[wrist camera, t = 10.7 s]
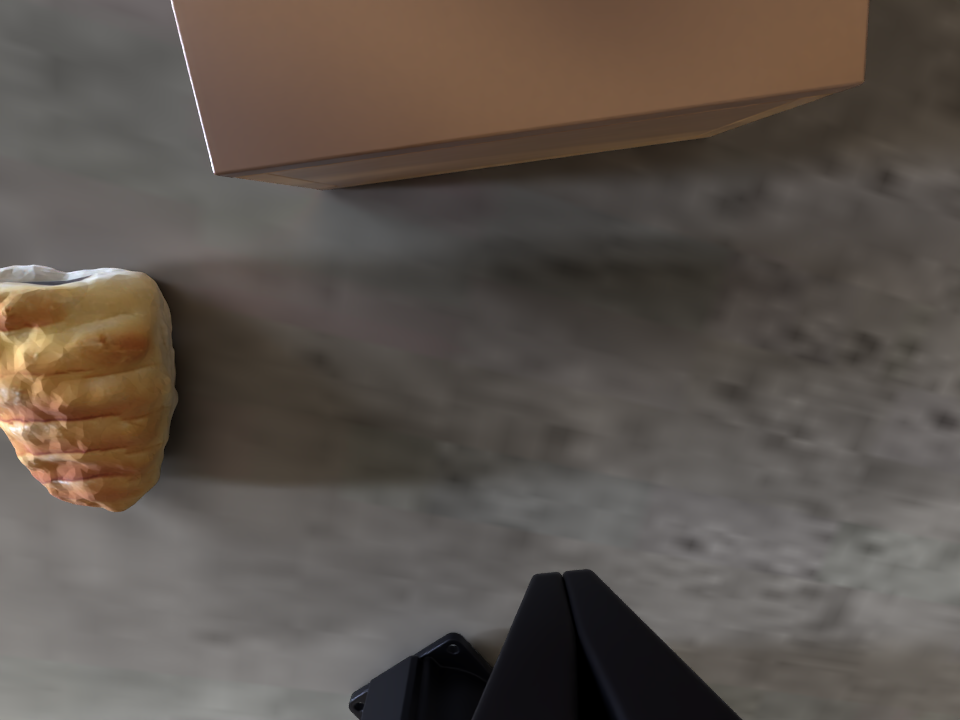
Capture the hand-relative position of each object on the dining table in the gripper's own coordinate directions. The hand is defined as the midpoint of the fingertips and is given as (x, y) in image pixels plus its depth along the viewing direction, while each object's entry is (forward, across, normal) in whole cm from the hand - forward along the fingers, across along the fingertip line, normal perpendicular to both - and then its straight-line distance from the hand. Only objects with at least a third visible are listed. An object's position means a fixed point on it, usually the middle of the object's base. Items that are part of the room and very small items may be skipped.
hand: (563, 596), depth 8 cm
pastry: (+13, +16, -2) cm, 21 cm away
